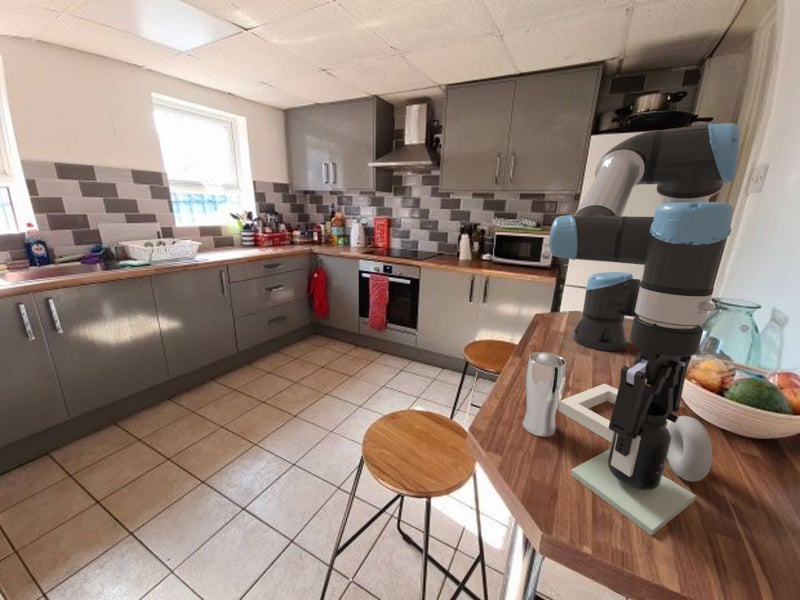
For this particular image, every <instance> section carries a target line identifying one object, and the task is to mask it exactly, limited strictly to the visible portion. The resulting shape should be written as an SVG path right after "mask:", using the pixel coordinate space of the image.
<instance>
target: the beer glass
mask: <svg viewBox="0 0 800 600" xmlns="http://www.w3.org/2000/svg"><path fill="white" fill-rule="evenodd" d="M525 372H526V373H525V381H524V382H525V383H524V384H525V385H524V386H525V398H526V399H525V400H526V411H525V413H524V414H525V415H524V417H523V420H522V426H523V428H524V429H525V431H527V432H528V433H530V434H531V435H534V436H536V437H541V438H548V437H551V436H553V435H555V433H556V413H557V411H558V409H559V403H560V401H561V400H562V397H563V393H564V389H565V385H566V378H567V361H566V359H565V358H563V357H562V356H560V355H557V354H554V353H551V352H545V351H544V352H541V351H540V352H533V353H531V354H530V355H529V356H528V362H527V366H526V371H525Z"/></svg>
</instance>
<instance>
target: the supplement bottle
mask: <svg viewBox="0 0 800 600" xmlns="http://www.w3.org/2000/svg"><path fill="white" fill-rule="evenodd" d="M667 416H668V412H667V410H666V409H665V408H663V407H662V406H660V405H658V404H657V403H654V402H651V404H650V406H649V408H648V411H647V413H646V416H645V418H644V421H643V423H642V426H641V428H640V430H639V433H638V436H640V437H641V439H640V443H639V448H638V452H637V456H636V461H635V465H634V470H633V474H632V475H631V476H630V477H629V476H627V475H626V474H624V473H623V472H621V471H620V470H618V469H617V468H615V467H614V466H612V465H611V460H612V455H613V451H614V446H615V441H616V436H617V433H615V432H614V433H613V438H612V443H611V442H610V448H609V449H610V453H609V458H608V467H609V470H610V471H611V473H612V474H613V475H614V476H615V477H616V478H617V479H618V480H620V481H621V482H623V483H624V484H626V485H628V486H631V487H633V488H636V489H640V490H653V489H655V488H657V487H658V486H659V484H660V481H661V478H662V475H663V474H664V470H665V466H666V463H667V462H666V461H667V460H668V459H667V455H668V451H669V447H670V443H671V434H670V432H669V430H668V429H667V428H666V423H667Z"/></svg>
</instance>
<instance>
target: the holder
mask: <svg viewBox="0 0 800 600" xmlns="http://www.w3.org/2000/svg"><path fill="white" fill-rule="evenodd" d="M618 390H619V388H616V387H613V386H611V385H609V384H606V383H602V384H599V385H597V386H595V387H592V388H589V389H587V390H584V391H582V392H579V393H577V394H574V395H571V396H568V397H566V398H563V399H561V400H560V402H559V405H558V409H557V411H558V412H559V413H561V414H563V415H564V416H566V417H568V418H569V419H571V420H573V421H575V422H576V423H578V424H580V425H581V426H583V427H585V428H586V429H588V430H589V431H591V432H593V433H595V434H597V435H598V436H600V437H602V438H603V439H604V440H607V442H610V444H611V443H612V438H613V433H614V431H612V430H610V429H609V424H610V419H607V418H605V417H604V416H601V415H599V414H598V413H597V412H594V411H592V410H591V408H593V407H595V406H598V405H601V404H602V403H605V402H609V403H611V404H613V405H615V401H616V397H617V393H618ZM676 416H677V415H676ZM677 417H679V416H677ZM667 421H668V426H669V424H670V423H671V421H670V420H667ZM668 426H667V429H668Z"/></svg>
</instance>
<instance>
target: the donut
mask: <svg viewBox="0 0 800 600" xmlns="http://www.w3.org/2000/svg"><path fill="white" fill-rule="evenodd" d="M668 430H669V432H670V434H671V443H670V447H669V451H668V455H667V459H666V460H667V462H668V463H669V467H670V468H671V469H672V471H673V472H674V474H675V475H677V476H678V477H680V478H681V479H683V480H684V481H687V482H698V481H702V480H703V479H704V478H705V477H706V476H708V475H709V472H710V470H711V467H712V463H713V446H712V444H713V443H712V440H711V438H710V434H709V432H708V431H707V429H706V427H705V426H704V425H703V423H701V421H699V420H698V419H696V418H694V417H691V416H687V415H680V416H678V419H677V421H676V422H675V423H674V422H672V421H671V423H670V424H669V426H668Z"/></svg>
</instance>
